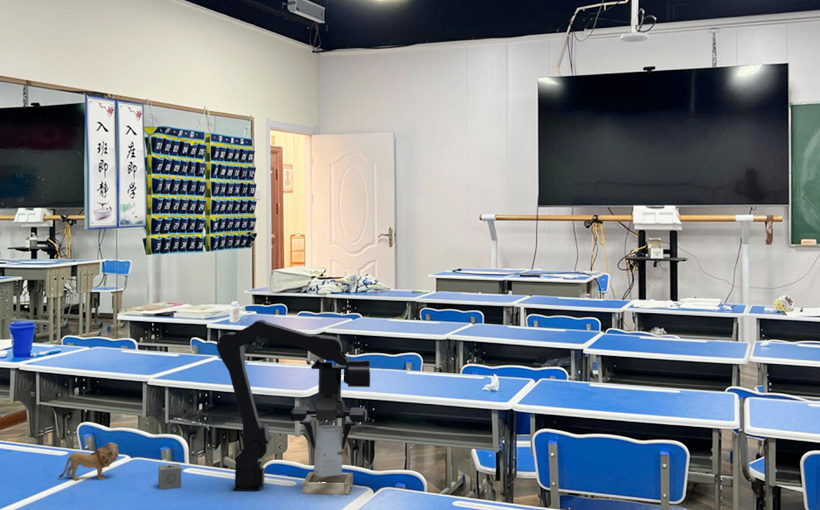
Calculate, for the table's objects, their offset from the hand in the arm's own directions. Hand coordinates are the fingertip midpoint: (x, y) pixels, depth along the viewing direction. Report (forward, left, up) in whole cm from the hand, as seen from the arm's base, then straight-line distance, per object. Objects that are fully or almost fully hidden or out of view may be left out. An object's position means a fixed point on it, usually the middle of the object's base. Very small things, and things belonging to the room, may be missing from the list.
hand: (328, 448), depth 210 cm
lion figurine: (-63, +6, -10) cm, 64 cm away
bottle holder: (0, 0, -10) cm, 10 cm away
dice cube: (-40, -1, -10) cm, 41 cm away
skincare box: (0, 0, -7) cm, 7 cm away
